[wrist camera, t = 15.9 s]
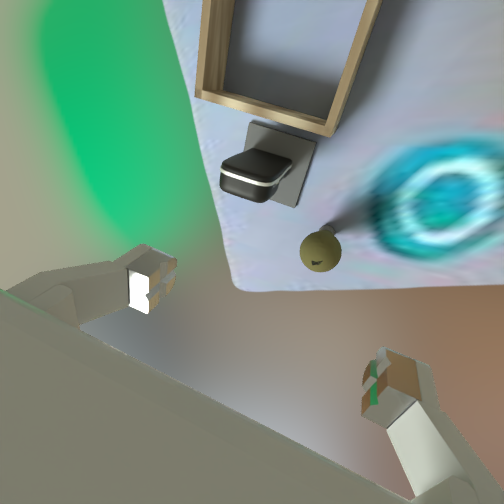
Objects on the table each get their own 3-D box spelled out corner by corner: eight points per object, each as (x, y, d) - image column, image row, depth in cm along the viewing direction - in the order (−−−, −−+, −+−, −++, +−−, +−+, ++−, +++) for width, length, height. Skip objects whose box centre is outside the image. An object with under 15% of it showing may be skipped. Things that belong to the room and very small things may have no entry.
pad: (316, 142, 39) (315, 143, 39) (295, 206, 45) (294, 208, 44) (250, 122, 41) (249, 122, 40) (238, 186, 46) (236, 187, 46)
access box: (394, -33, 29) (398, -58, 24) (335, 131, 38) (330, 137, 33) (235, -61, 32) (210, -88, 27) (215, 96, 41) (194, 96, 36)
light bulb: (323, 252, 47) (312, 286, 38) (302, 226, 46) (287, 256, 38) (353, 235, 43) (348, 268, 35) (331, 207, 43) (321, 235, 34)
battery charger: (245, 171, 44) (211, 192, 35) (250, 146, 42) (215, 162, 33) (288, 184, 43) (264, 210, 33) (295, 159, 41) (271, 180, 31)
